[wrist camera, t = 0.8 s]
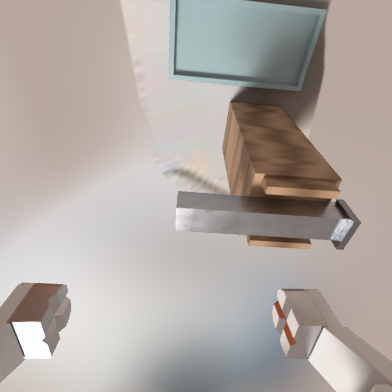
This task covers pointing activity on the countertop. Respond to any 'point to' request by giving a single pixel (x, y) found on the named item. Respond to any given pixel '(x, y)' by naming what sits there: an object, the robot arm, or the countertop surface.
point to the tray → (242, 42)
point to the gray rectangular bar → (266, 217)
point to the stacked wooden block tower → (274, 163)
